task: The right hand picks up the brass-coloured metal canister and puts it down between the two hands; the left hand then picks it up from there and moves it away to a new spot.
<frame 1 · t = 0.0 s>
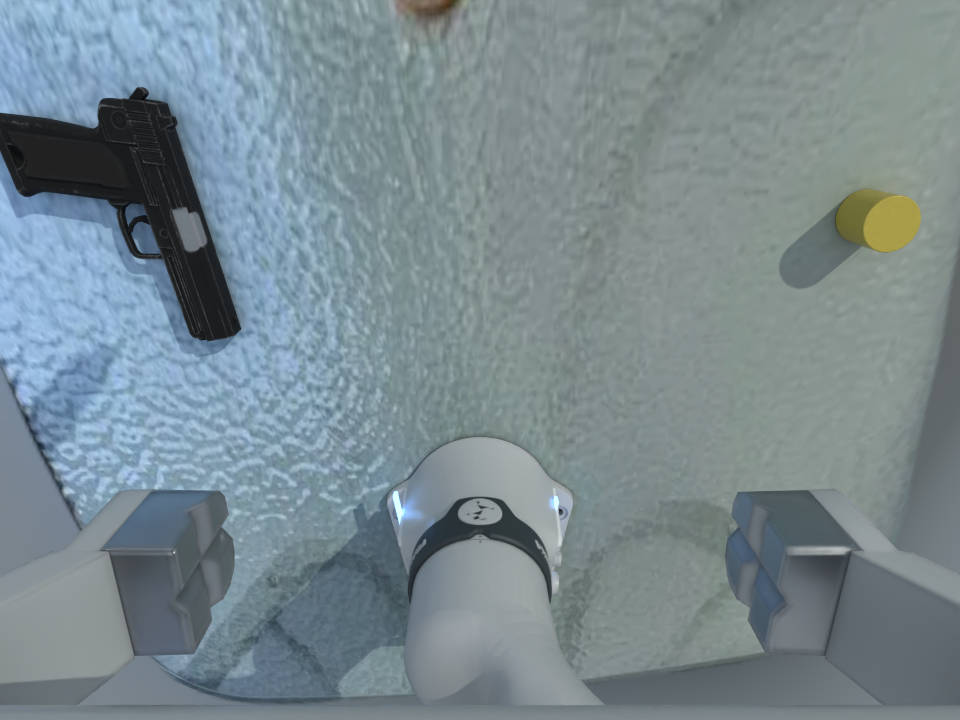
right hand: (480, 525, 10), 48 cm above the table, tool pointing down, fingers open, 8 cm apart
handgun: (135, 226, 56), on the table
canister: (861, 216, 56), on the table
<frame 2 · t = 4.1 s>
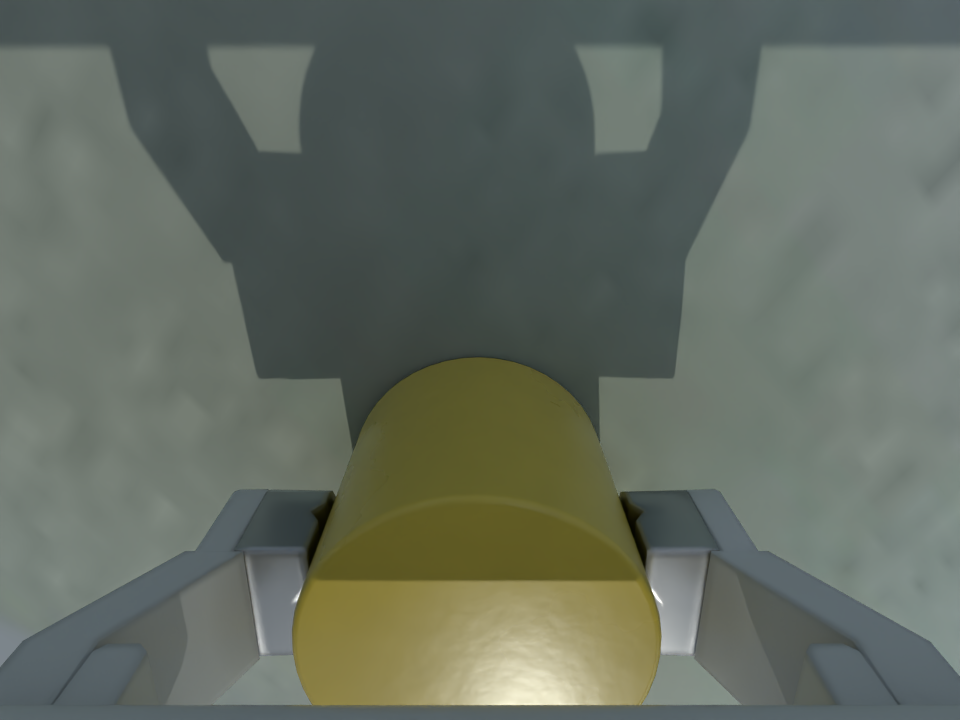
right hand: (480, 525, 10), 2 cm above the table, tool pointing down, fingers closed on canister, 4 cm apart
canister: (478, 469, 12), on the table, touching right hand
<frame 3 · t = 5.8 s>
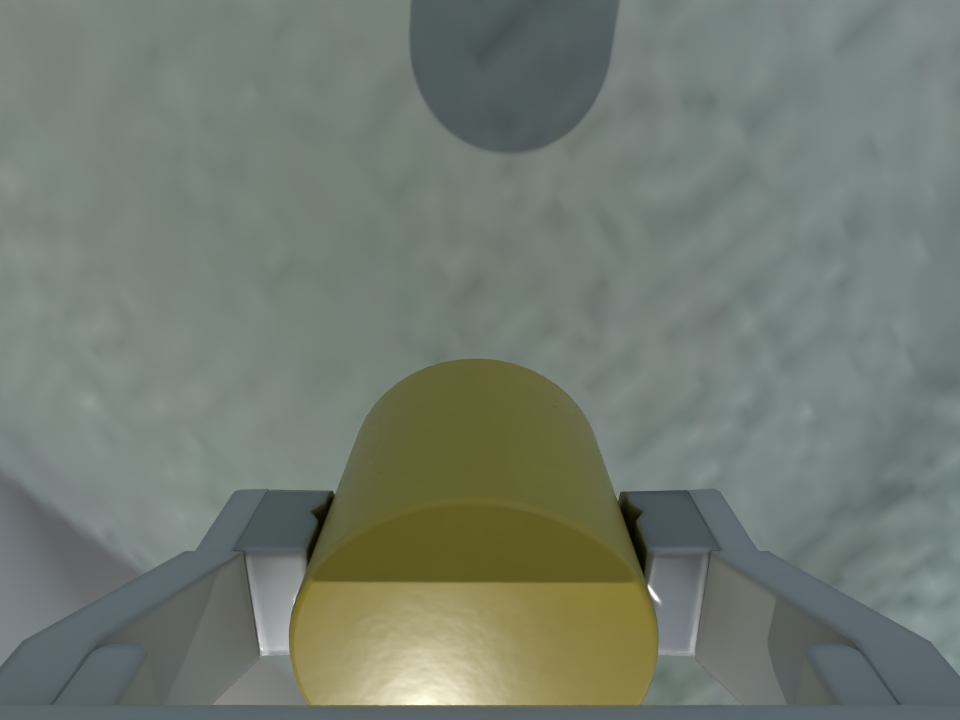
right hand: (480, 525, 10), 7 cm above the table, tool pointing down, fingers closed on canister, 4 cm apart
canister: (476, 471, 12), point 6 cm above the table, touching right hand
when the right hand's fingers open (3 cm above the table, at t = 7.6 s): canister stays where it is, on the table.
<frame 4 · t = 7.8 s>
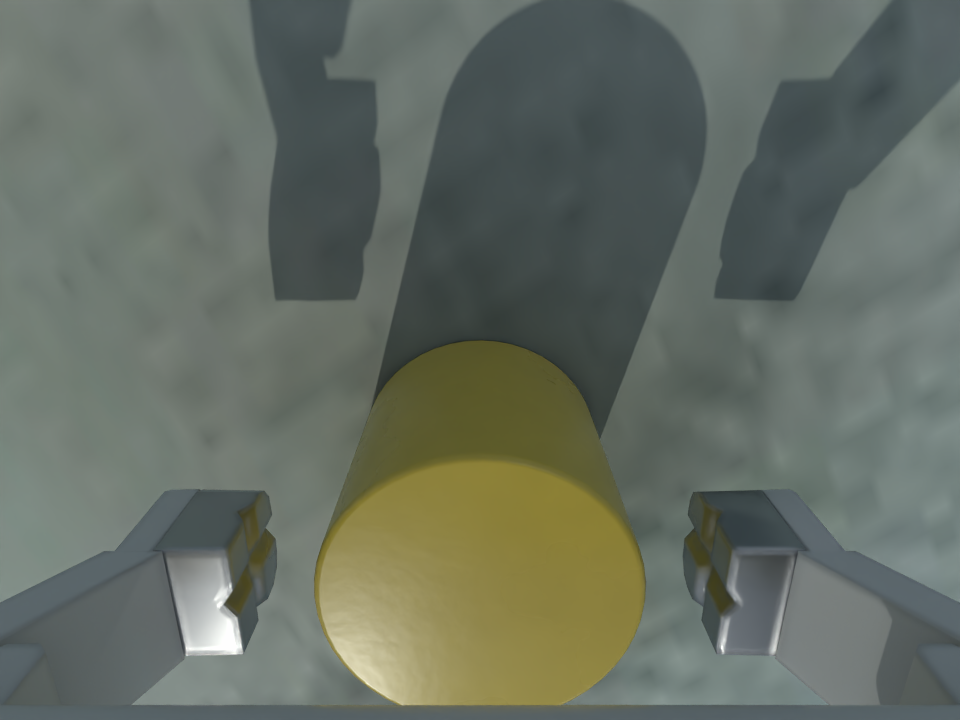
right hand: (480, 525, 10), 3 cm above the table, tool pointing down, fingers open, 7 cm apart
canister: (480, 446, 13), on the table
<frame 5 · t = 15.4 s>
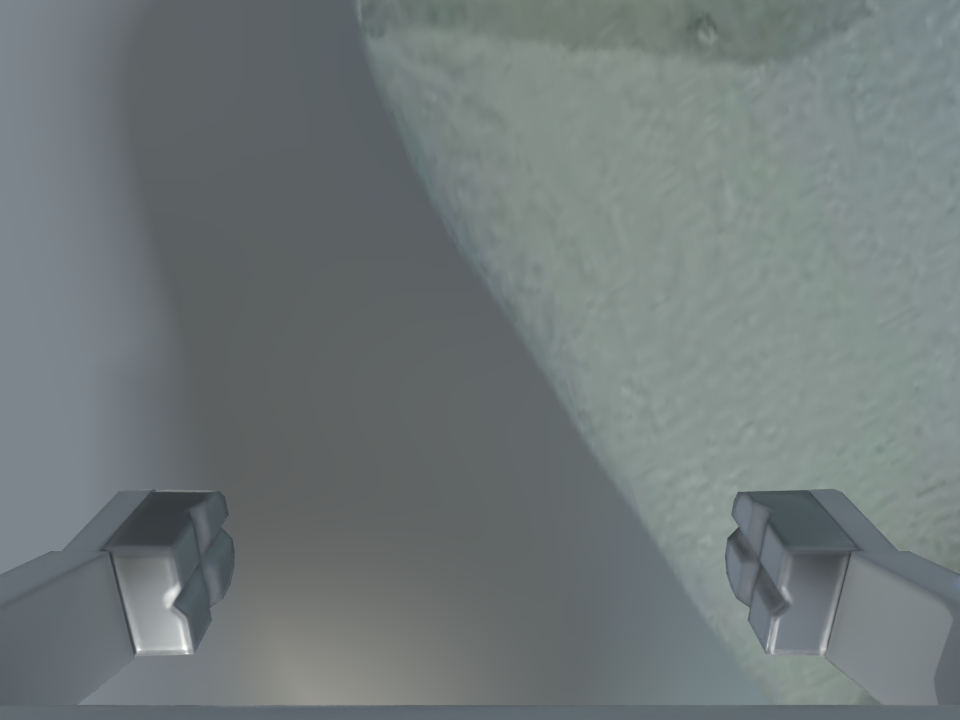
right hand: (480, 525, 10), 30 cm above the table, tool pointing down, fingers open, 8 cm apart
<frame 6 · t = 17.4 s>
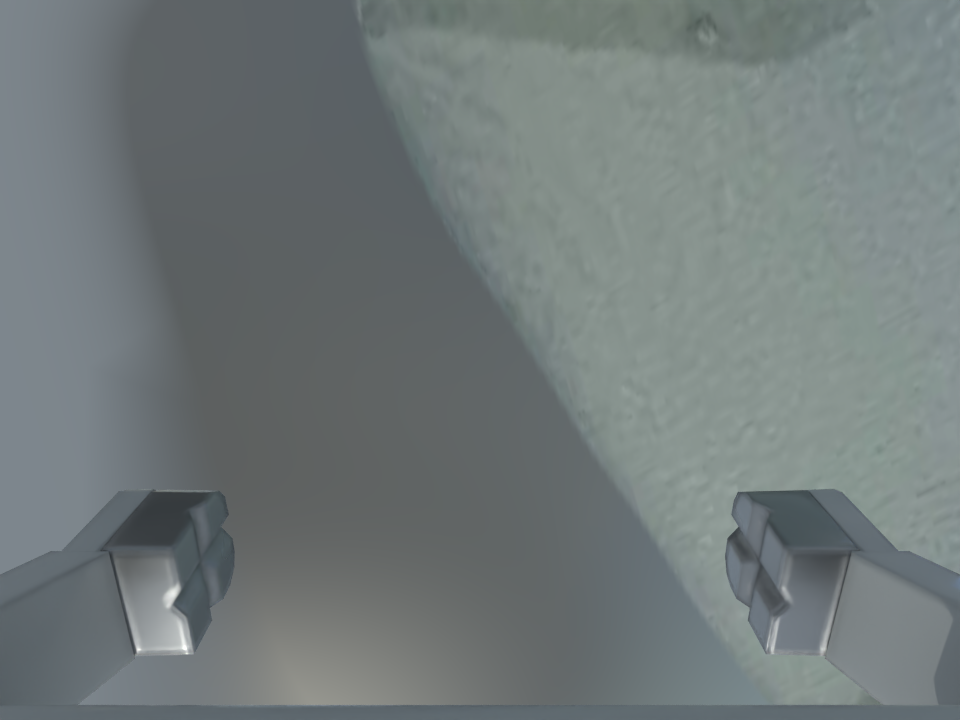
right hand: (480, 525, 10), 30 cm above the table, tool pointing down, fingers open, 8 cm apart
when the left hand's fingers open (3 cm above the table, at t = 19.5 s): canister stays where it is, on the table.
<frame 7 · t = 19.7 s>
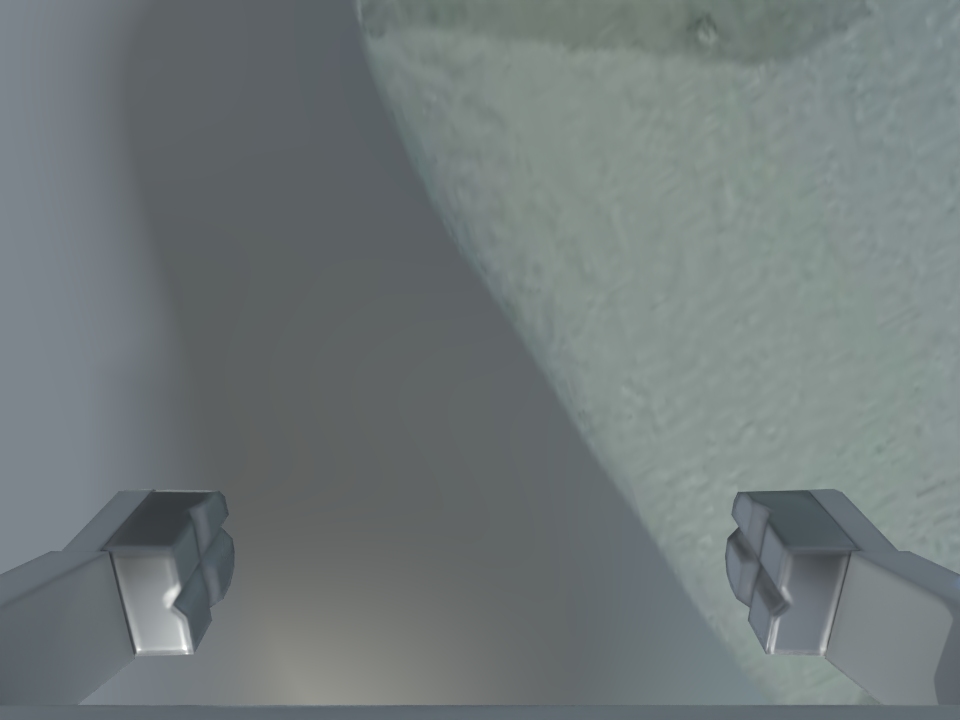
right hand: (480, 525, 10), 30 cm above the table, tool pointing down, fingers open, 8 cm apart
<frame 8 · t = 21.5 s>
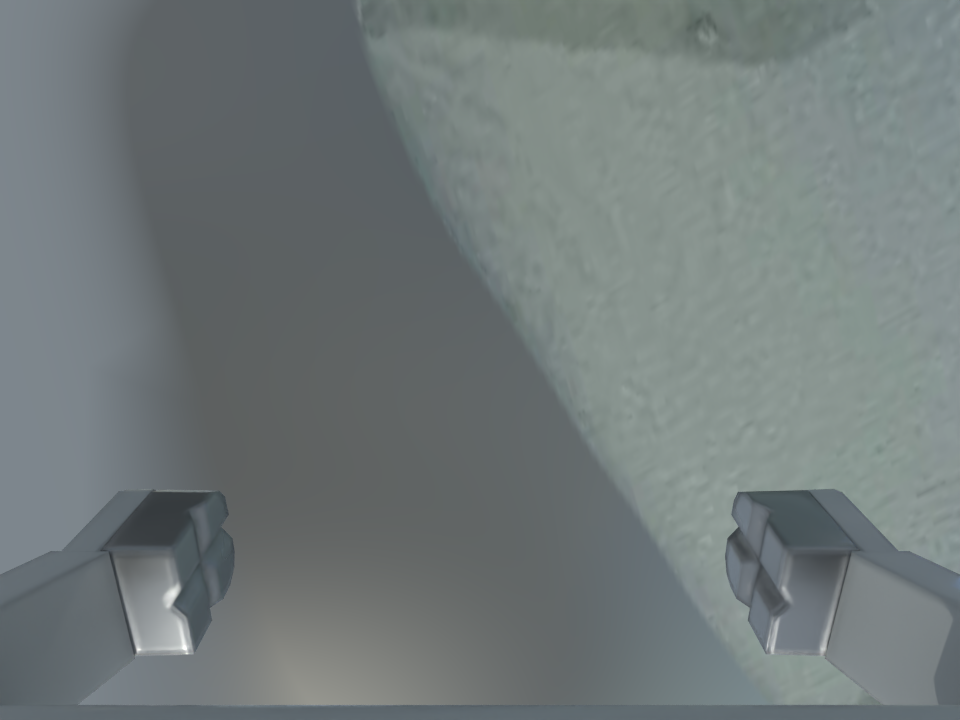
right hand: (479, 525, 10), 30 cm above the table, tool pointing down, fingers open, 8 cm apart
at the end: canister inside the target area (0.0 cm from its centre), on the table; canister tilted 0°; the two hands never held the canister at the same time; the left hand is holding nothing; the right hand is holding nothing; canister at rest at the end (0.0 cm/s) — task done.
